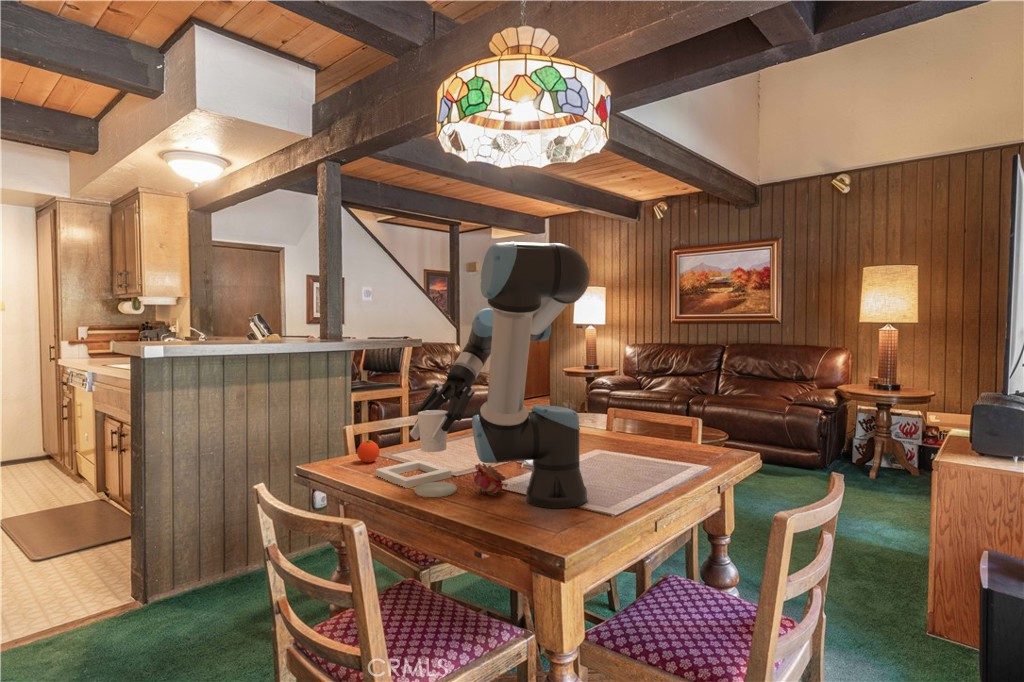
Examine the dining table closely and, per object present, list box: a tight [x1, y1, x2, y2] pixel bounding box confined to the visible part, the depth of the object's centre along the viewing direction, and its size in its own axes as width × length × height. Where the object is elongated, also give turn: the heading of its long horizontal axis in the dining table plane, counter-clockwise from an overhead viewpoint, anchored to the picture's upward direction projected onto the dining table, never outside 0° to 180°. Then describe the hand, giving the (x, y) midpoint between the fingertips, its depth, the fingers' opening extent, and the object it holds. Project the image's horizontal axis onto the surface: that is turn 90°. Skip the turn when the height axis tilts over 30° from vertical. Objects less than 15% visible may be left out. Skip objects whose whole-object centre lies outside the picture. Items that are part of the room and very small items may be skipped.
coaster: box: [414, 481, 457, 498], centre depth 146 cm, size 11×11×1 cm
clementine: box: [356, 439, 380, 464], centre depth 178 cm, size 8×7×7 cm
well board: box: [375, 459, 452, 489], centre depth 160 cm, size 17×15×2 cm
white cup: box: [417, 409, 448, 453], centre depth 147 cm, size 8×8×10 cm
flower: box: [472, 462, 509, 497], centre depth 143 cm, size 10×9×8 cm
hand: (424, 438), depth 144 cm, fingers closed on white cup, 7 cm apart
